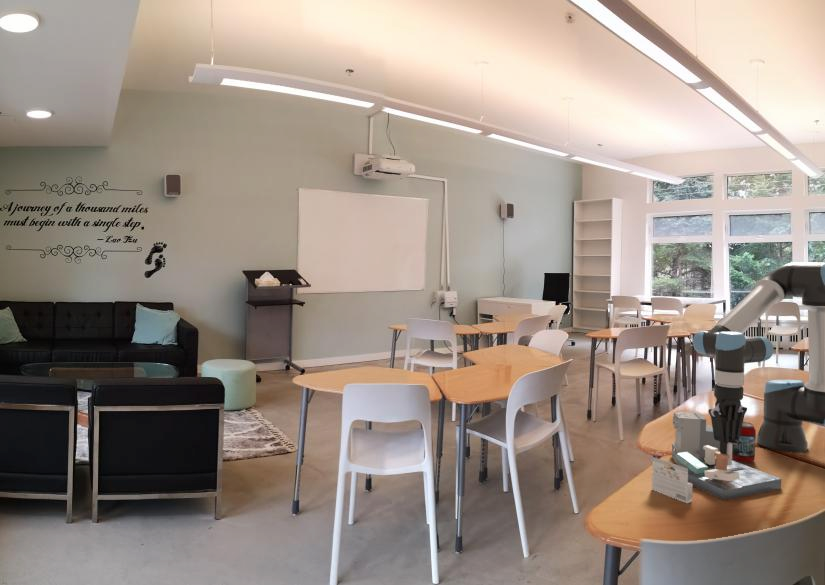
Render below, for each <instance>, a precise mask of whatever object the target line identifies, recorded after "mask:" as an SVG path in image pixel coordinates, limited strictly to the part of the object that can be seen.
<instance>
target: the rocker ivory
mask: <svg viewBox="0 0 825 585" xmlns="http://www.w3.org/2000/svg"><path fill="white" fill-rule="evenodd" d="M704 473H705V477H706V478H712V479H719V480H725V481H732V480H738V479H740V478H739V472H732V471H725V470H718V469H712V470H707V471H704Z"/></svg>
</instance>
